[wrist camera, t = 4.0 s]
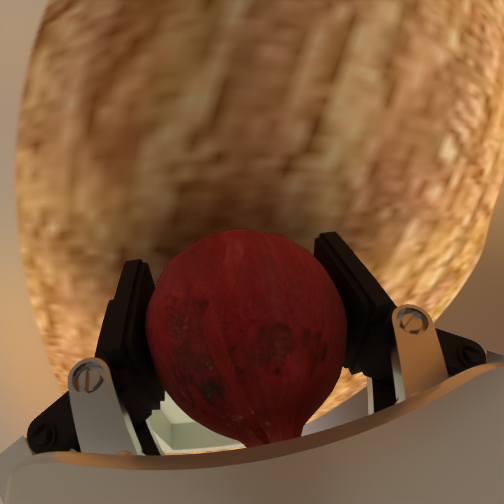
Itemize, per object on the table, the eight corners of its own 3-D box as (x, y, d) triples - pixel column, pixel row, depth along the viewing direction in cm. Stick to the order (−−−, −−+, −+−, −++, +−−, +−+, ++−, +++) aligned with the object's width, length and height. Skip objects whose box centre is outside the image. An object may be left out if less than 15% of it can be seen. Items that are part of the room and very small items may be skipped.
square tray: (112, 347, 13) (105, 392, 10) (294, 323, 14) (312, 366, 12) (164, 421, 18) (165, 453, 16) (287, 404, 19) (296, 435, 17)
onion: (127, 254, 10) (85, 466, 4) (247, 158, 9) (379, 361, 2) (220, 330, 13) (248, 494, 7) (323, 264, 12) (416, 426, 6)
